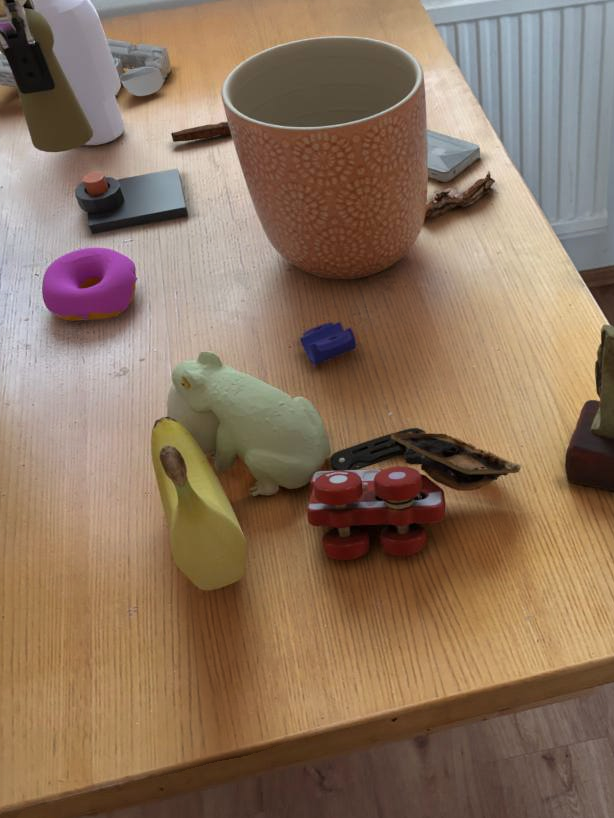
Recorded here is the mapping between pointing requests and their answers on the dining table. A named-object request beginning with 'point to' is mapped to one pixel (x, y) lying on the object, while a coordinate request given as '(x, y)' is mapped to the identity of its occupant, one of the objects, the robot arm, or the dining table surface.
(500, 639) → the dining table surface
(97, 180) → the button
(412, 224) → the planter
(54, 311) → the donut
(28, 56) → the robot arm
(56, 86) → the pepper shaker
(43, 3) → the soap bottle
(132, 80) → the architectural model
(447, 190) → the tree bark
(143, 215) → the push button panel
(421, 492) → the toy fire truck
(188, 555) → the banana
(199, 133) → the kitchen knife
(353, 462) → the folding knife
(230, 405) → the figurine
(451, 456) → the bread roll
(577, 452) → the small statue on base
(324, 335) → the bracket
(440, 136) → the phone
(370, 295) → the dining table surface
